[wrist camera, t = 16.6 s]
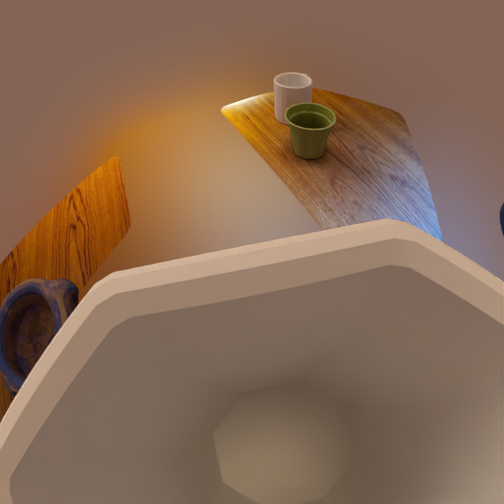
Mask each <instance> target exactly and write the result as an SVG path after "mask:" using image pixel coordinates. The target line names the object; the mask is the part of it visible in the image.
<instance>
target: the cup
mask: <svg viewBox="0 0 504 504" xmlns="http://www.w3.org/2000/svg"><path fill="white" fill-rule="evenodd" d="M0 504H504V282H503V281H502V280H500V279H499V278H497V277H496V276H494V275H493V274H491V273H490V272H489V271H487V270H486V269H484V268H483V267H481V266H480V265H478V264H476V263H475V262H473V261H472V260H470V259H469V258H467V257H465V256H464V255H462V254H461V253H459V252H458V251H456V250H454V249H453V248H451V247H449V246H448V245H446V244H444V243H443V242H441V241H439V240H438V239H436V238H434V237H433V236H431V235H429V234H427V233H426V232H424V231H422V230H420V229H419V228H417V227H415V226H413V225H411V224H410V223H408V222H403V221H398V220H393V219H381V220H376V221H371V222H366V223H360V224H355V225H350V226H344V227H339V228H334V229H329V230H323V231H319V232H314V233H308V234H303V235H298V236H292V237H287V238H282V239H277V240H272V241H267V242H262V243H257V244H252V245H246V246H241V247H236V248H232V249H226V250H221V251H216V252H211V253H206V254H201V255H197V256H191V257H186V258H181V259H176V260H171V261H167V262H161V263H157V264H152V265H147V266H142V267H137V268H132V269H127V270H123V271H117V272H113V273H111V274H110V275H108V276H107V277H105V278H103V279H102V280H100V281H99V282H97V283H96V284H94V286H93V287H92V288H91V289H90V290H89V292H88V293H87V294H86V296H85V297H84V298H83V300H82V301H81V302H80V303H79V305H78V306H77V307H76V308H75V310H74V311H73V312H72V314H71V315H70V316H69V318H68V319H67V320H66V322H65V323H64V324H63V326H62V327H61V329H60V330H59V331H58V333H57V334H56V335H55V337H54V338H53V340H52V341H51V343H50V344H49V345H48V347H47V348H46V350H45V351H44V353H43V354H42V356H41V357H40V359H39V360H38V362H37V363H36V365H35V366H34V368H33V369H32V371H31V372H30V374H29V375H28V377H27V379H26V380H25V382H24V383H23V385H22V387H21V388H20V390H19V392H18V393H17V395H16V397H15V398H14V400H13V402H12V403H11V405H10V407H9V409H8V410H7V412H6V414H5V416H4V418H3V419H2V421H1V423H0Z"/></svg>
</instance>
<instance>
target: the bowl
mask: <svg viewBox="0 0 504 504" xmlns="http://www.w3.org/2000/svg"><path fill="white" fill-rule="evenodd" d="M78 292H79V291H78V288H77V286H76V285H75V284H74V283H72V282H71V281H69V280H67V279H57V280H53V281H48V280H45V279H41V278H35V279H27V280H26V281H24V282H22V283H20V284H19V285H17V286H16V287H15V288H14V289H13V290H12V291H11V292H10V293H8V295H7V296H6V297H5V299H4V300H3V303H2V305H1V308H0V372H1V374H2V377H3V382H4V385H5V387H6V388H7V389H8V390H9V392H10V393H11V394H12V395H13V396H16V395H17V393H18V392H19V390H20V388H21V387H22V385H23V383H24V382H25V380H26V379H27V377H28V375H29V374H30V372H31V371H32V369H33V368H34V366H35V365H36V363H37V362H38V360H39V359H40V357H41V356H42V354H43V353H44V351H45V350H46V348H47V347H48V345H49V344H50V343H51V341H52V340H53V338H54V337H55V335H56V334H57V333H58V331H59V330H60V329H61V327H62V326H63V324H64V323H65V322H66V320H67V319H68V318H69V316H70V315H71V314H72V312H73V311H74V310H75V308H76V307H77V306H78Z"/></svg>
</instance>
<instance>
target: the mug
mask: <svg viewBox="0 0 504 504" xmlns="http://www.w3.org/2000/svg"><path fill="white" fill-rule="evenodd" d="M311 98H312V80H311V78H309V77H308V74H300V73H283V74H280V75H278V76H276V77H275V78H274V103H275V117H276V119H277V120H278V121H280V122H281V123H284V124H287V125H288V122H287V121H286V119H285V111H286V110H287V108H289V107H290V106H292V105H294V104H298V103H311Z"/></svg>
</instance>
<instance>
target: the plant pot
mask: <svg viewBox="0 0 504 504" xmlns="http://www.w3.org/2000/svg"><path fill="white" fill-rule="evenodd" d="M285 119H286V121H287V122H288V125H289V127H290V132H291V139H292V146H293V150H294V153H295V154H296V155H297V156H299V157H301V158H303V159H311V158H314V159H316V158H319V157H320V156H321V155H322V154H323V152H324V148H325V145H326V142H327V138H328V135H329V132H330V130H331V128H332V126H333V125H334V124H335V122H336V116H335V114H334V112H333V111H331V110H330V109H329V108H327V107H325V106H323V105H320V104H316V103H298V104H294V105H292V106H290V107H289V108H287V110H286V111H285Z"/></svg>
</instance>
